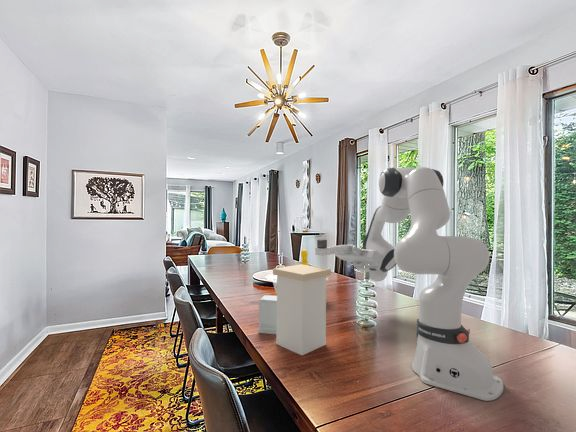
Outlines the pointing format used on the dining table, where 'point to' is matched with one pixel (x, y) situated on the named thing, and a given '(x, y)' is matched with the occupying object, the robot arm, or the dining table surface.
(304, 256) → the figure statuette
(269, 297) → the supplement box
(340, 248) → the aluminium bar
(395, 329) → the dining table surface
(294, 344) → the pedestal
